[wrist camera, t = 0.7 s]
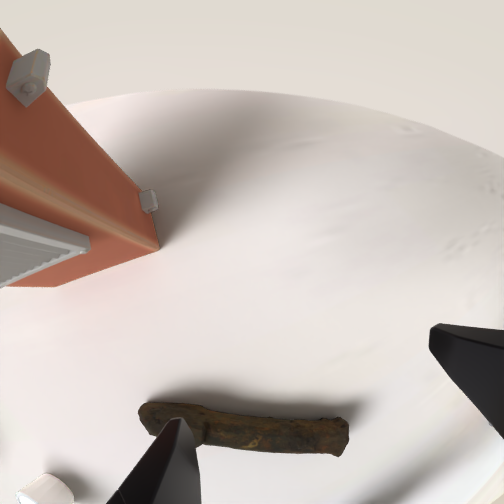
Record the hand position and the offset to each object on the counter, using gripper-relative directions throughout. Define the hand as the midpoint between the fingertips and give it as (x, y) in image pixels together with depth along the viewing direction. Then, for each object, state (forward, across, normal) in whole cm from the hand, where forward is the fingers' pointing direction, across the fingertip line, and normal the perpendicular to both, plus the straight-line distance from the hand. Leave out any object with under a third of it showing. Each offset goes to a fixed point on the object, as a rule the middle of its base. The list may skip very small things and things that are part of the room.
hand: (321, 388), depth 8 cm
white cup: (+10, +34, +22) cm, 42 cm away
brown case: (+19, +13, -5) cm, 24 cm away
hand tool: (+13, +5, +14) cm, 20 cm away
